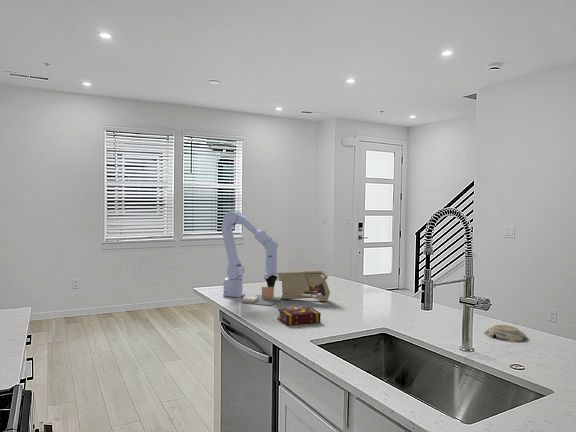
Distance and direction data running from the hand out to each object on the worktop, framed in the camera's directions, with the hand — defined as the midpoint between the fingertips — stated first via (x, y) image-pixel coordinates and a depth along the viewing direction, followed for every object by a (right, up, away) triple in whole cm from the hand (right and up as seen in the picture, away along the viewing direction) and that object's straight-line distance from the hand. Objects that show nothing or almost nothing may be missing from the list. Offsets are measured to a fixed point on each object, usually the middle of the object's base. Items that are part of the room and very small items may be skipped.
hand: (270, 290), depth 227 cm
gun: (+17, -4, -4) cm, 18 cm away
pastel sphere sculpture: (+18, -4, +25) cm, 31 cm away
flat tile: (-10, -4, -9) cm, 14 cm away
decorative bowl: (+92, -8, -58) cm, 109 cm away
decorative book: (+13, -6, -42) cm, 44 cm away
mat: (-3, -4, -6) cm, 8 cm away
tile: (-1, -4, -4) cm, 5 cm away
